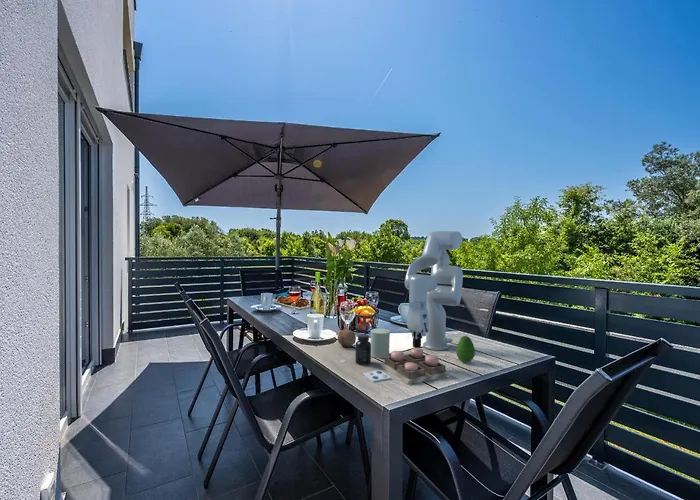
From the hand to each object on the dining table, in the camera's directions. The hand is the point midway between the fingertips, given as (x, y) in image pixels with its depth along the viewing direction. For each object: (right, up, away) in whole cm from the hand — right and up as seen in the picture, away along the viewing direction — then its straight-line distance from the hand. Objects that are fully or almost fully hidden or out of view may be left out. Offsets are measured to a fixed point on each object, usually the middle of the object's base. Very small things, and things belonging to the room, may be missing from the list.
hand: (416, 347), depth 147 cm
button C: (-9, -4, -4) cm, 10 cm away
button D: (-5, -6, -13) cm, 15 cm away
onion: (-31, -7, +26) cm, 41 cm away
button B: (+4, -4, -9) cm, 11 cm away
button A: (0, -4, 0) cm, 4 cm away
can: (-15, -8, +13) cm, 21 cm away
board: (-2, -8, -6) cm, 11 cm away
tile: (-18, -8, -13) cm, 24 cm away
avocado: (+23, -9, +6) cm, 25 cm away
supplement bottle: (-23, -8, +3) cm, 25 cm away
